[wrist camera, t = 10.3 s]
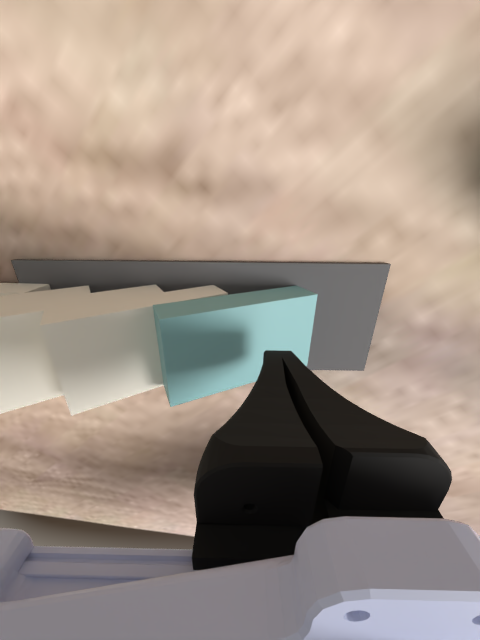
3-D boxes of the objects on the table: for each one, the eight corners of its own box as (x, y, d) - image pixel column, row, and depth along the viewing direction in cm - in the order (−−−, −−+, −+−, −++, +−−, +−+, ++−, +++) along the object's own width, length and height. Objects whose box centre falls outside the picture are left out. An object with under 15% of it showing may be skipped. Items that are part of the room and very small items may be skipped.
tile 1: (307, 365, 17) (170, 406, 13) (289, 351, 18) (163, 384, 15) (317, 294, 15) (159, 319, 11) (296, 285, 16) (152, 305, 13)
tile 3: (172, 363, 17) (-4, 414, 13) (164, 350, 18) (5, 391, 14) (164, 292, 15) (-50, 324, 11) (155, 284, 16) (-33, 309, 12)
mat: (362, 368, 19) (363, 370, 19) (51, 363, 19) (49, 365, 19) (387, 263, 16) (390, 264, 16) (15, 259, 16) (11, 260, 16)
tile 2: (228, 364, 17) (71, 415, 13) (215, 350, 18) (71, 392, 14) (227, 292, 15) (39, 325, 10) (213, 284, 16) (44, 310, 12)
